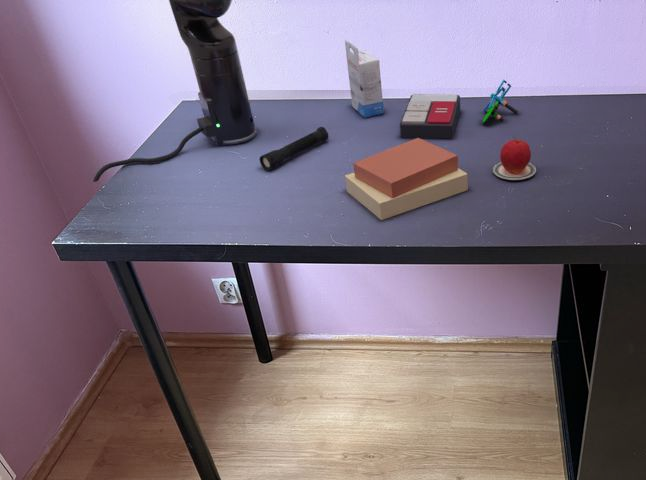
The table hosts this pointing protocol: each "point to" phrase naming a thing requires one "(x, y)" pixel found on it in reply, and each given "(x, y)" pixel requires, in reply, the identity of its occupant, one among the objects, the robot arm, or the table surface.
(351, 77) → the ink box
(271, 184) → the table surface
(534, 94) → the table surface
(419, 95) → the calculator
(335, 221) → the table surface
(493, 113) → the stick construction toy
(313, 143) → the flashlight
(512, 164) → the apple
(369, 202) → the book stack
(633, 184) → the table surface
